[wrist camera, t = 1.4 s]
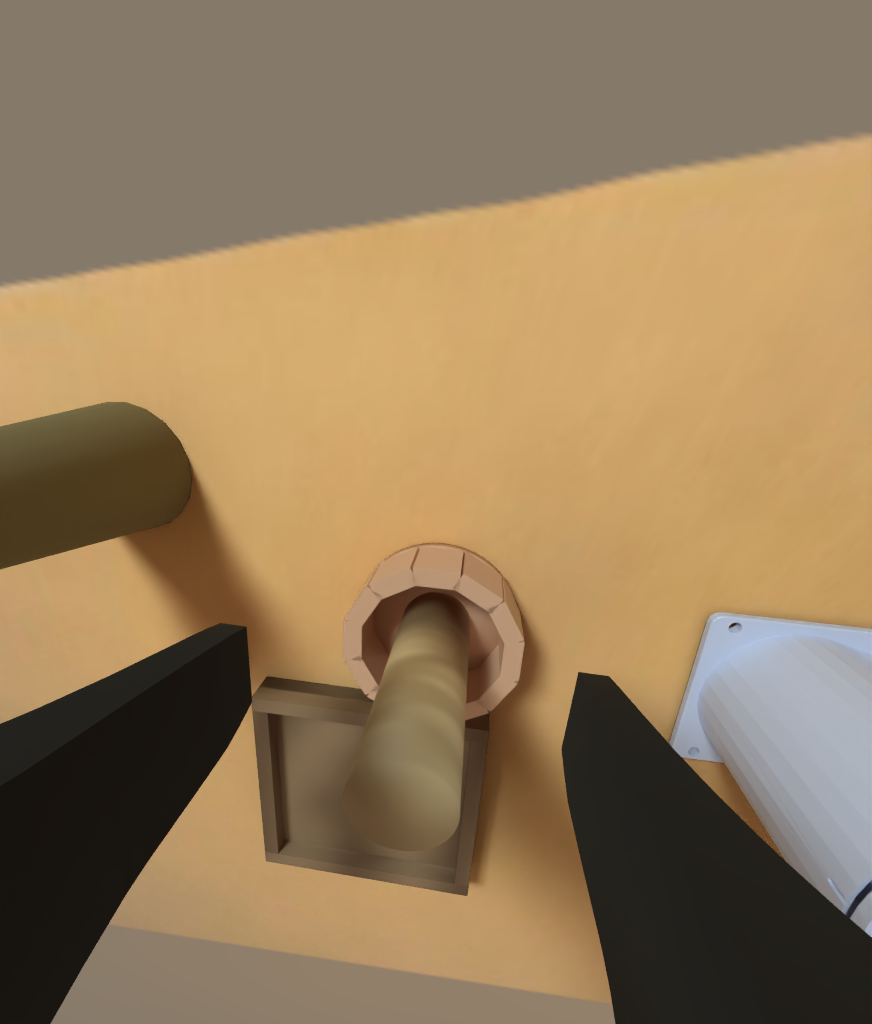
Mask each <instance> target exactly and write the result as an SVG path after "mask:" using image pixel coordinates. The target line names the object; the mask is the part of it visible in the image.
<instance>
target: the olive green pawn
mask: <svg viewBox="0 0 872 1024" xmlns="http://www.w3.org/2000/svg"><path fill="white" fill-rule="evenodd" d="M191 483H192V477H191V471H190V466H189V460H188V457H187V455H186V453H185V451H184V449H183V447H182V445H181V443H180V441H179V439H178V438H177V437H176V436H175V434H174V433H173V432H172V431H171V430H170V428H169V427H168V426H167V425H166V424H165V423H164V422H163V421H162V420H160V419H159V418H158V417H156V416H155V415H153V414H152V413H150V412H149V411H148V410H146V409H144V408H141V407H138V406H135V405H132V404H129V403H126V402H106V403H101V404H97V405H93V406H88V407H84V408H80V409H75V410H71V411H66V412H62V413H58V414H53V415H49V416H45V417H40V418H36V419H32V420H27V421H23V422H18V423H14V424H10V425H5V426H1V427H0V569H3V568H7V567H11V566H14V565H18V564H22V563H25V562H29V561H33V560H36V559H40V558H44V557H47V556H51V555H55V554H58V553H62V552H66V551H69V550H73V549H77V548H80V547H84V546H88V545H91V544H95V543H99V542H102V541H106V540H109V539H113V538H117V537H120V536H124V535H128V534H131V533H135V532H139V531H142V530H146V529H150V528H153V527H157V526H160V525H163V524H166V523H169V522H170V521H172V520H173V519H174V518H175V517H177V516H178V515H179V514H180V513H181V512H182V511H183V509H184V507H185V505H186V503H187V501H188V499H189V498H190V490H191Z"/></svg>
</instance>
